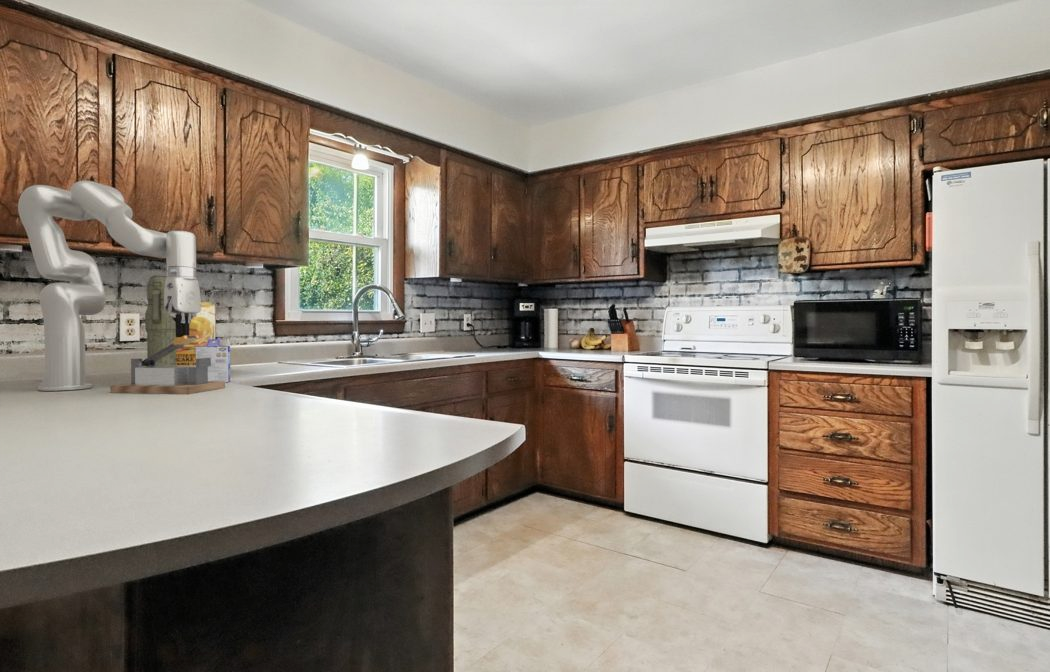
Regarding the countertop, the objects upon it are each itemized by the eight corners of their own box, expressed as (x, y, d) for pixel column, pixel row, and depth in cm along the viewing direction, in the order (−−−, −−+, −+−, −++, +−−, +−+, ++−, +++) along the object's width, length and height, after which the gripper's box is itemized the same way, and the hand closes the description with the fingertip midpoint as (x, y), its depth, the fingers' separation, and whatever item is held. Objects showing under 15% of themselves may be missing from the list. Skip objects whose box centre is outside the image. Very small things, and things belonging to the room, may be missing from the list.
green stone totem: (142, 385, 185) (141, 274, 184) (149, 382, 196) (148, 277, 195) (174, 384, 188) (173, 275, 188) (180, 381, 199) (179, 278, 198)
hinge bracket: (131, 384, 169) (131, 358, 169) (150, 381, 177) (150, 357, 176) (138, 384, 169) (138, 358, 169) (158, 382, 176) (157, 357, 176)
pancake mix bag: (154, 380, 204) (154, 299, 204) (216, 377, 213) (216, 300, 213) (153, 381, 198) (152, 298, 198) (217, 379, 208) (216, 300, 207)
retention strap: (134, 367, 170) (133, 364, 170) (150, 366, 176) (148, 363, 176) (185, 338, 168) (183, 335, 168) (199, 338, 174) (197, 334, 174)
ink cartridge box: (231, 381, 200) (230, 338, 200) (229, 382, 195) (228, 339, 195) (198, 382, 197) (198, 339, 197) (195, 383, 192) (195, 339, 192)
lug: (188, 384, 168) (188, 358, 168) (200, 383, 173) (200, 357, 173) (199, 384, 168) (199, 358, 168) (210, 383, 173) (210, 357, 173)
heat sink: (135, 385, 167) (135, 367, 167) (166, 381, 179) (165, 364, 178) (174, 385, 165) (173, 368, 165) (202, 381, 177) (202, 365, 177)
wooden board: (110, 392, 165) (110, 385, 165) (153, 386, 181) (152, 380, 181) (188, 394, 162) (188, 386, 162) (225, 388, 178) (225, 381, 178)
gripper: (175, 271, 163) (176, 337, 163) (210, 276, 178) (211, 336, 178) (150, 272, 164) (151, 337, 164) (187, 276, 179) (188, 336, 179)
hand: (182, 337), depth 171 cm, fingers closed
